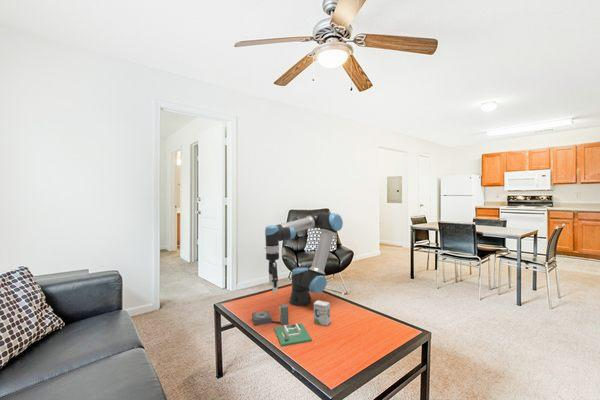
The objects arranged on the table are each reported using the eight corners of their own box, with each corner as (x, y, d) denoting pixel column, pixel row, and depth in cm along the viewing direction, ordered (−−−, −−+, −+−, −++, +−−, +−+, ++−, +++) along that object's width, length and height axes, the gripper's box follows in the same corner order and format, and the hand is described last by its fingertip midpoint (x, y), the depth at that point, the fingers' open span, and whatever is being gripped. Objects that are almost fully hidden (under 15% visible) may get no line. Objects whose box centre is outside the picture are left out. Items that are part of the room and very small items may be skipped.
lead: (279, 322, 161) (279, 321, 161) (278, 323, 161) (278, 322, 161) (271, 321, 163) (271, 320, 163) (270, 322, 162) (270, 321, 162)
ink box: (330, 322, 161) (330, 302, 161) (327, 326, 157) (327, 305, 156) (317, 319, 165) (316, 299, 165) (313, 323, 161) (313, 302, 160)
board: (301, 325, 159) (301, 318, 158) (312, 341, 141) (311, 333, 141) (274, 329, 154) (274, 322, 154) (281, 346, 137) (281, 338, 137)
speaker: (268, 315, 171) (268, 309, 171) (271, 322, 162) (271, 316, 162) (252, 317, 168) (252, 312, 168) (254, 325, 159) (254, 319, 159)
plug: (286, 321, 164) (286, 304, 163) (288, 324, 160) (288, 306, 160) (279, 322, 162) (278, 305, 162) (280, 325, 159) (280, 308, 158)
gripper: (263, 248, 172) (264, 282, 173) (269, 257, 148) (270, 297, 149) (275, 247, 174) (276, 281, 175) (282, 256, 150) (283, 295, 151)
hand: (273, 288), depth 162 cm, fingers open, 13 cm apart
